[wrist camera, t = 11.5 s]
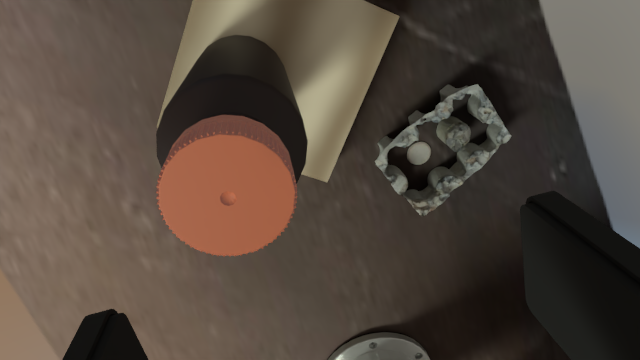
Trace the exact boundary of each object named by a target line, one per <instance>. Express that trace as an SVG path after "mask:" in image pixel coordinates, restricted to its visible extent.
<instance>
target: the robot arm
mask: <svg viewBox="0 0 640 360" xmlns="http://www.w3.org/2000/svg"><path fill="white" fill-rule="evenodd" d="M520 217H521V233H522V249H523V265H524V282H525V297H526V302H527V305H528V307H529V309H530V311H531V312H532V314H533V315H534V316H535V317H536V318H537V320H538V321H539V322H540V323H541V324H542V325H543V327H544V328H545V329H546V330H547V331H548V333H549V334H550V335H551V336H552V337H553V338H554V340H555V341H556V342H557V343H558V344H559V346H560V347H561V348H562V349H563V350H564V351H565V353H566V354H567V355H568V356H569V357H570V359H571V360H640V249H639V248H638V247H637V246H635V245H634V244H632V243H631V242H629V241H628V240H626V239H625V238H623V237H622V236H620V235H619V234H617V233H616V232H615V231H613V230H612V229H610V228H609V227H607V226H606V225H604V224H603V223H601V222H600V221H598V220H597V219H596V218H594V217H593V216H591V215H590V214H588V213H587V212H585V211H584V210H582V209H581V208H579V207H578V206H576V205H575V204H574V203H572V202H571V201H569V200H568V199H566V198H565V197H563V196H562V195H560V194H559V193H557V192H555V191H549V192H546V193H542V194H538V195H535V196H531V197H529V198H527V201H526V204H525V205H522V206H521V209H520ZM63 360H148V358H147V356H146V354H145V352H144V350H143V348H142V346H141V344H140V342H139V340H138V338H137V336H136V334H135V332H134V330H133V328H132V326H131V324H130V322H129V320H128V318H127V316H126V315H125V314H124V313H119V314H118V313H117V311H115V310H114V309H109V310H106V311H102V312H98V313H95V314H91V315H88V316H85V318H84V319H83V321H82V323H81V325H80V327H79V329H78V331H77V332H76V334H75V336H74V338H73V340H72V342H71V344H70V346H69V348H68V350H67V352H66V354H65V356H64V358H63ZM328 360H430V358H429V356H428V354H427V352H426V350H425V349H424V348H423V347H422V346H421V344H419V343H418V342H417V341H415V340H414V339H412V338H410V337H408V336H405V335H402V334H398V333H390V332H380V333H372V334H368V335H364V336H361V337H358V338H356V339H353V340H351V341H349V342H348V343H346V344H344V345H343V346H341V347H340V348H339V349H338V350H336V351H335V352H334V353H333V354H332V355H331V356H330V358H329V359H328Z"/></svg>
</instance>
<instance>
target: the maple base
mask: <svg viewBox="0 0 640 360" xmlns="http://www.w3.org/2000/svg"><path fill="white" fill-rule="evenodd" d="M399 17H400V16H398V15H396V14H393V13H391V12H389V11H387V10H384V9H382V8H380V7H378V6H375V5H373V4H371V3H369V2H366V1H364V0H193V2H192V6H191V9H190V13H189V16H188V20H187V23H186V27H185V30H184V34H183V37H182V40H181V44H180V47H179V51H178V54H177V58H176V61H175V65H174V68H173V72H172V75H171V79H170V82H169V86H168V89H167V93H166V96H165V99H164V103H163V106H162V110H161V113H160V117H159V120H158V124H157V128H158V127H159V124H160V121H161V118H162V115H163V112H164V109H165V108H166V106H167V105H168V103H169V102H170V100H171V99H172V97H173V96H174V94H175V93H176V91H177V90H178V88H179V87H180V85H181V84H182V82H183V81H184V79H185V78H186V76H187V74H188V73H189V71H190V70H191V68H192V67H193V65H194V64H195V62H196V61H197V59H198V58H199V57H200V55H201V54H202V53H203V51H204V50H205V49H206V48H207V46H209V45H210V44H212V43H214V42H215V41H217V40H218V39H220V38H224V37H228V36H232V35H242V36H251V37H253V38H255V39H258V40H260V41H262V42H265V43H266V44H267V45H268V46H269V47H270V48H271V49H273V50H274V51H275V52H276V53H277V55H278V57H279V58H280V60H281V62H282V63H283V65H284V67H285V70H286V73H287V76H288V79H289V82H290V85H291V87H292V90H293V93H294V96H295V99H296V102H297V105H298V107H299V110H300V113H301V116H302V119H303V123H304V127H305V131H306V136H307V140H308V145H307V155H306V164H305V166H304V169H303V171H302V173H301V174H303V175H306V176H309V177H312V178H315V179H318V180H321V181H324V182H328V180H329V177H330V175H331V173H332V170H333V168H334V166H335V164H336V161H337V159H338V157H339V154H340V152H341V150H342V147H343V145H344V143H345V141H346V138H347V136H348V134H349V131H350V129H351V127H352V125H353V122H354V120H355V118H356V115H357V113H358V111H359V108H360V106H361V104H362V102H363V99H364V97H365V95H366V92H367V90H368V88H369V86H370V83H371V81H372V79H373V76H374V74H375V72H376V70H377V67H378V65H379V63H380V60H381V58H382V56H383V53H384V51H385V49H386V47H387V44H388V42H389V40H390V37H391V35H392V33H393V31H394V28H395V26H396V24H397V21H398V19H399Z"/></svg>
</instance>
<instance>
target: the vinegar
mask: <svg viewBox="0 0 640 360" xmlns="http://www.w3.org/2000/svg"><path fill="white" fill-rule="evenodd" d="M156 137H157V157H158V160H159V163H160V165H161V168H162V169H161V172H160V174H159V179H158V181H157V182H158V184H157V188H158V189H157V192H156V193H158V195H157V199H159V200H158V203H157V204H159V210H161V213H160V215H163V216H164V217H163V220H165V221H166V225H167V224H168V226H169V229H172V230H173V232H172V233H175V234H176V235H177V236H176V237H179V238H180V239H181V241H184V242H186V243H185V244H189V245H191V246H190V247H194V248H195V250H201V252H202V251H204V252H206V254H208V253H211V254H212V255H213V254H214V255H218V256H219V255H223V256H225V255H229V257H230V256H231V255H235V256H236V255H241V256H242V254H244V253H246V254H247V253H248V252H251V253H253V251H256V250H257V251H258V249H259V248H262V249H263V246H265V245H267V246H268V243H270V242H271V243H272V241H273V240H274V239H277V236H278V235H279V236H281V234H280V233H281V231H283V232H284V228H285V227H287V223H290V218H293V217H292V213H295V212H294V208H296V205H295V203H297V200H296V198H297V188H296V187H297V185H296V184H297V182H298V180H299V177H300V175H301V173H302V171H303V169H304V166H305V164H306V155H307V145H308V140H307V136H306V131H305V127H304V123H303V119H302V116H301V113H300V110H299V107H298V105H297V102H296V99H295V96H294V93H293V90H292V87H291V85H290V82H289V79H288V76H287V73H286V70H285V67H284V65H283V63H282V62H281V60H280V58H279V57H278V55H277V53H276V52H275V51H274V50H273V49H271V48H270V47H269V46H268V45H267V44H266V43H265V42H262V41H260V40H258V39H255V38H253V37H251V36H242V35H232V36H228V37H224V38H220V39H218V40H217V41H215V42H214V43H212V44H210V45H209V46H207V48H206V49H205V50H204V51H203V53H202V54H201V55H200V57H199V58H198V59H197V61H196V62H195V64H194V65H193V67H192V68H191V70H190V71H189V73H188V74H187V76H186V78H185V79H184V81H183V82H182V84H181V85H180V87H179V88H178V90H177V91H176V93H175V94H174V96H173V97H172V99H171V100H170V102H169V103H168V105H167V106H166V108H165V109H164V112H163V115H162V118H161V121H160V124H159V127H158V130H157V133H156Z"/></svg>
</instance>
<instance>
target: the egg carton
mask: <svg viewBox="0 0 640 360" xmlns="http://www.w3.org/2000/svg"><path fill="white" fill-rule="evenodd" d="M465 94H472V95H471V97H470V98H469V100H468V103H467V110H468V112H469V113H470V114H471V115H472V116H474V117H476V118H477V119H479V120H480V121H481V122H482V123H485V122H486V123H487V124H489V126H488V128H487V130H486V135H487V139H486V140H485V141H484V142H483V143H482V144H480V145H479V146H478V145H476V144H475V143H468V142H469V140H470V135H471V131H470V128H469V126H468V125H467V124H465V123H464V122H462V121H461V120H459V119H458V118H456V117H452V116H450V114H451V112H452V111H453V103H452V101H453V99H457V100H459V99H460V100H462V99H463V98H464V96H465ZM440 96H441V102H440V103H438V104H437V105H436V107H435V110H434V111H432V112H430V113H427V114H423V113H421V112H419V111H418V110H416V111H415V112H414V113H412V114H411V115H410V116H409V117H408V119H409V123H410V126H409V127H407V128H406V129H404V130H403V131H402V132H401V133H400V134H399V135H398V136H397V137H396V138H395V139H391V138H389V137H388V136H385V137H384V138H382V139H381V140H380V141H379V142H378V145H379V147H380V154H379V156H378V158H377V160H376V161H375V164H376V165H377V166H378V167H379V168H380V169H381V170H382V171H383V174H384V175H385V176H386V178H387V179H388V180H389V181H391V182H392V183H391V185H392V187H393V188H394V189H395V191H396V192H397V193H398V194H400V195H402V196H403V197H405V198H406V199H407V200H408V202H409V203H410V204H411V205H412V206H413V208H414V209H415V210H416V211H417V212H418V213H419V214H420V215H422V216H424V215H427V214H428V212H430V211H433V210H434V209H436V208H437V206H438V205H440V204H442V203H443V202H444V201H445V200H446V199H447V198H448V197H449V196H450V192H451V191H452V190H454V189H455V188H457V187H458V186H460V185H462V184H463V183H464V181H465V180H466V179H467V178H468V177H470V176H471V175H472V174H473V173H474V172H476V171H477V170H479V169H481V168H482V167H483V165H484V164H485V163H486V162H487V161H488V160H489V159H490V158H491V156H492V155H493V153H495V152H496V151H497V149H498V148H499V145H500V144H503V143H506V142H507V141H509V140H510V138H511V135H510V133H509V132H508V131H507V129H506V128H505V126H504V123H503V122H502V120H501V119H500V117H499V116H498V114H497V112H496V110H495V109H494V107H493V106H492V104H491V102H490V100H489V99H488V97H487V96H486V95H485V94H484V92H483V90H482V89H481V88H480V86H479V85H478V84H476V85H472V86H470V87H468V86H464V87H462V88H454V87H452V86H451V85H449V84H448V85H446V86H445V87H444V88H443V89H441V90H440ZM424 118H426V120H425V121H424ZM429 121H433V122H439V124H438V126H437V131H436V133H437V136H438V137H439V138H440V139H441V140H442V141H443V142H444V143H445V144H447V145H448V146H449V147H450V148H451V149H452V150H454V151H455V152H457V162H456V163H455V164H454V165H453V166H452V167H451V168H450V169H448V168H446V167H436V168H434V169H433V170H432V171H431V172H430V173H429V175H428V186H427V187H426V188H425V189H423V190H422V191H417V190H414V189H411V190H407V188H408V181H407V178H406V176H405V175H404V174H403V173H402V171H401V170H400V169H399V168H398V167H396V166H394V165H388V159H387V154H388V151H389V150H390V149H391V148H393V147H394V146H399V147H404V148H405V147H406V146H409V145H411V144H412V143H413V142H414V141H416V140H417V141H418V140H419V138H418V136H419V131H418V129H417V127H416V125H418V124H420V125H421V124H423V123H424V122H429ZM430 155H431V148H430V146H429V145H428V144H427V143H425V142H416V143H414V144H412V145H411V146H410V147H409V149H408V151H407V159H408V161H409V162H410V163H412V164H415V165H421V164H423V163H425V162H426V161H427V160H428V159H429V157H430ZM406 190H407V191H406Z"/></svg>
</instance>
